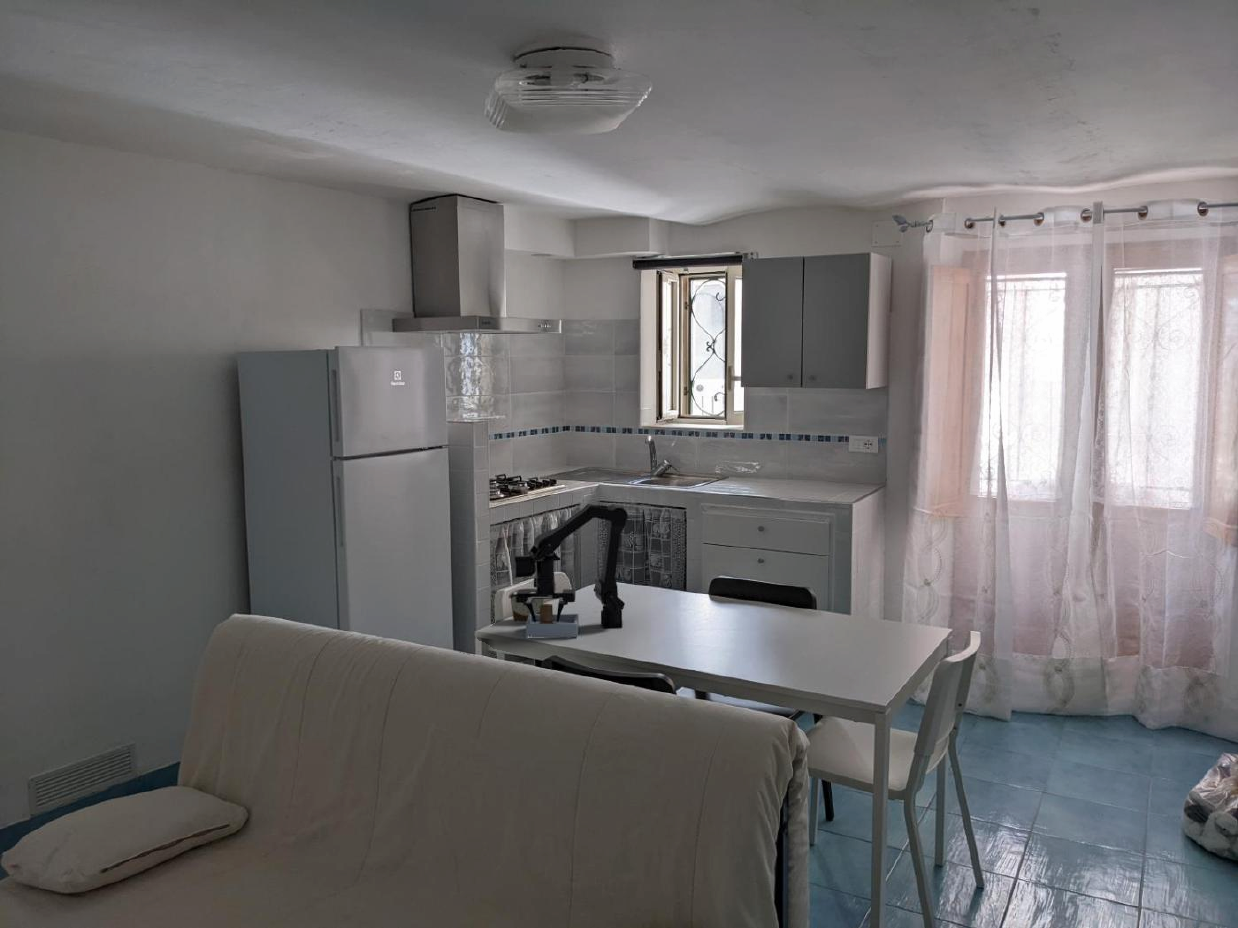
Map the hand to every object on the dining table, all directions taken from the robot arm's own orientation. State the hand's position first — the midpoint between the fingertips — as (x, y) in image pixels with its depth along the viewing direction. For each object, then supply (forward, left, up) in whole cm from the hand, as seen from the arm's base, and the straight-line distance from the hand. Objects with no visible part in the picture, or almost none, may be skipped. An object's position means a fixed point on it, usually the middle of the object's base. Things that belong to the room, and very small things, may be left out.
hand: (546, 622), depth 304 cm
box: (-2, 0, -4) cm, 4 cm away
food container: (+7, -14, -4) cm, 17 cm away
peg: (0, 0, -4) cm, 4 cm away
